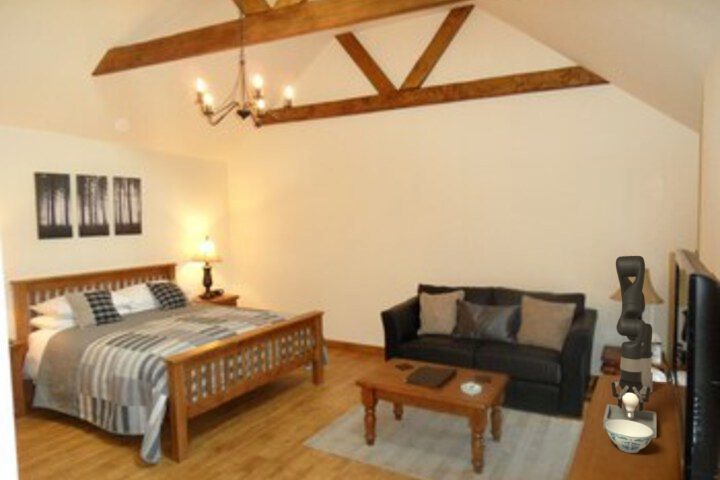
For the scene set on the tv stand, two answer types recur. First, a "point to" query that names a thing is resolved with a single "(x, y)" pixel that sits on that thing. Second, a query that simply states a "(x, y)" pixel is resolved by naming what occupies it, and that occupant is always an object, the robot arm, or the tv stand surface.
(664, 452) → the tv stand surface
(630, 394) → the lightbulb
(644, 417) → the tray
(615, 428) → the chinaware
